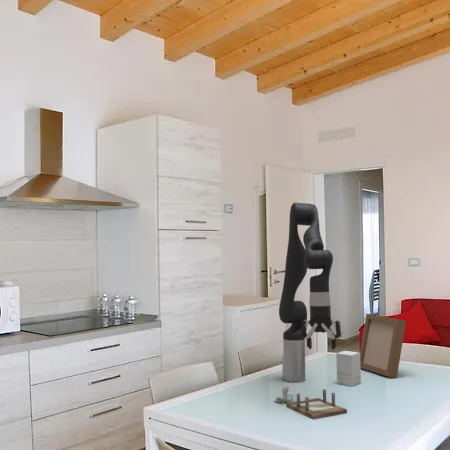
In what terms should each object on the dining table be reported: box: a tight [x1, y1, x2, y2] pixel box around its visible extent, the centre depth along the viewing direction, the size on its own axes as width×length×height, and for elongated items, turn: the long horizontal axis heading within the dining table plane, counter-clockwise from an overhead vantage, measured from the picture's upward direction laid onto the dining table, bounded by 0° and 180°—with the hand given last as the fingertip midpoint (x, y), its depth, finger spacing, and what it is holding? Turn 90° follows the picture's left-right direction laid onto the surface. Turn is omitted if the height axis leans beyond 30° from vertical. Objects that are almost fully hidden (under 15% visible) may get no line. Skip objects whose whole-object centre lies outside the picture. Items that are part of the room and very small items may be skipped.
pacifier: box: [273, 384, 295, 404], centre depth 202 cm, size 7×6×6 cm
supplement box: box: [335, 350, 362, 387], centre depth 227 cm, size 7×7×13 cm
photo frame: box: [359, 313, 407, 379], centre depth 247 cm, size 15×22×25 cm
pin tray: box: [285, 389, 348, 420], centre depth 191 cm, size 16×14×6 cm
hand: (321, 349), depth 201 cm, fingers open, 8 cm apart
